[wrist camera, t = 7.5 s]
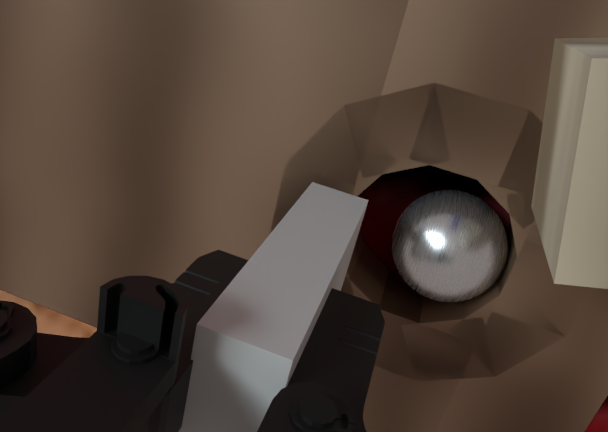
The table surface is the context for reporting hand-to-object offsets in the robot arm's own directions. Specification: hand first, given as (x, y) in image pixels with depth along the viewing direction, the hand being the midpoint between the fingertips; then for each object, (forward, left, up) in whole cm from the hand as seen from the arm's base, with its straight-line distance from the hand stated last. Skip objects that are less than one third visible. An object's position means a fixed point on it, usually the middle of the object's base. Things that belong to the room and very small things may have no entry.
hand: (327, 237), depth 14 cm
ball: (+3, 0, -2) cm, 4 cm away
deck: (-3, 0, -4) cm, 4 cm away
